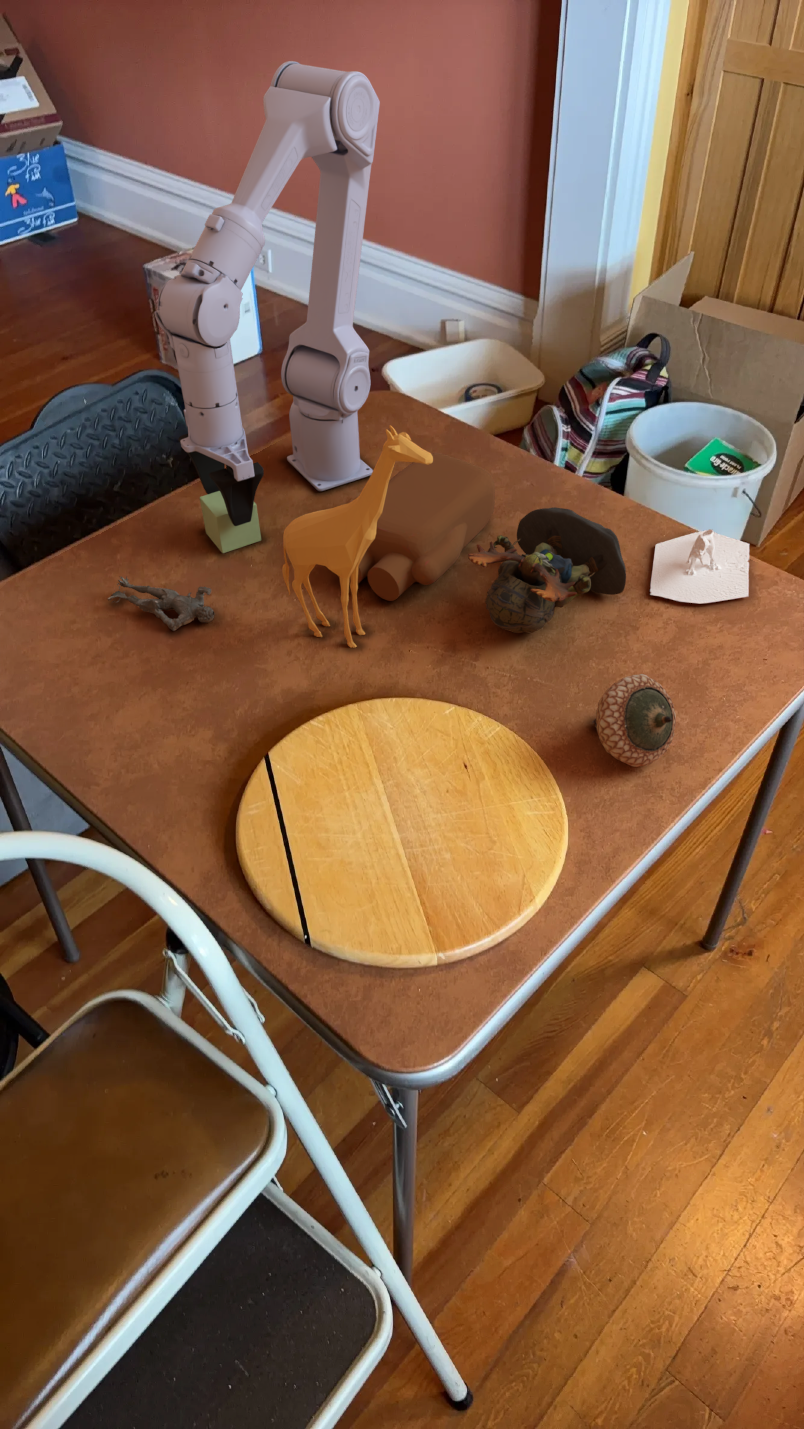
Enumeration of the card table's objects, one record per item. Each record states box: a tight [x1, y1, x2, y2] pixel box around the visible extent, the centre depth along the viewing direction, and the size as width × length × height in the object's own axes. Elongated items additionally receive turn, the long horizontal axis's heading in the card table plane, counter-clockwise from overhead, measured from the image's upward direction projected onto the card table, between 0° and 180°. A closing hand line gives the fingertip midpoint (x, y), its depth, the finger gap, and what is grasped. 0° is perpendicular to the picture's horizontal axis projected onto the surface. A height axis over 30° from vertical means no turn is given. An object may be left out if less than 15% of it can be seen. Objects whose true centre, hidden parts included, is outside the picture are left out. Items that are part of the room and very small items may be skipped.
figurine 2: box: [467, 506, 627, 634], centre depth 104 cm, size 14×10×18 cm
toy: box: [337, 452, 496, 602], centre depth 112 cm, size 15×8×20 cm
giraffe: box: [281, 424, 433, 649], centre depth 95 cm, size 16×4×25 cm, turn 67°
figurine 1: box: [107, 575, 216, 632], centre depth 106 cm, size 6×4×12 cm
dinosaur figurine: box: [649, 529, 750, 604], centre depth 109 cm, size 15×12×6 cm
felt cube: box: [199, 491, 262, 554], centre depth 116 cm, size 5×5×5 cm
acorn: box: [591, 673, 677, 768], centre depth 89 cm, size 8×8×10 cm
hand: (228, 506), depth 114 cm, fingers open, 7 cm apart
